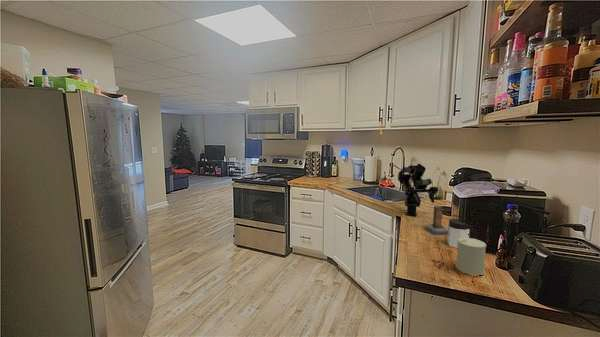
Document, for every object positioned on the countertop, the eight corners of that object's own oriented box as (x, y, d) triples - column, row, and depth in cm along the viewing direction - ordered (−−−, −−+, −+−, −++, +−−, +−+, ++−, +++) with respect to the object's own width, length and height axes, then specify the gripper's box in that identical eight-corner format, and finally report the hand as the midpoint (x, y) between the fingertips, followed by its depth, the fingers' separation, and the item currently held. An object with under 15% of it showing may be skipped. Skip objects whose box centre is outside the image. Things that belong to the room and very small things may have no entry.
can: (452, 263, 102) (454, 235, 101) (478, 266, 100) (481, 237, 98) (459, 274, 94) (461, 244, 92) (488, 278, 91) (490, 247, 89)
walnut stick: (432, 228, 139) (433, 206, 138) (438, 228, 139) (439, 206, 138) (435, 230, 136) (436, 207, 135) (441, 230, 136) (442, 207, 135)
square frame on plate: (423, 228, 143) (423, 223, 142) (440, 228, 143) (441, 223, 142) (432, 234, 133) (432, 229, 132) (451, 234, 133) (451, 229, 132)
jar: (471, 246, 118) (472, 221, 117) (465, 251, 113) (466, 225, 112) (450, 240, 125) (451, 217, 124) (444, 244, 120) (445, 221, 119)
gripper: (407, 174, 151) (415, 195, 141) (437, 173, 151) (447, 195, 142) (401, 184, 160) (408, 205, 150) (430, 184, 160) (439, 205, 150)
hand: (425, 202), depth 148 cm, fingers open, 9 cm apart
